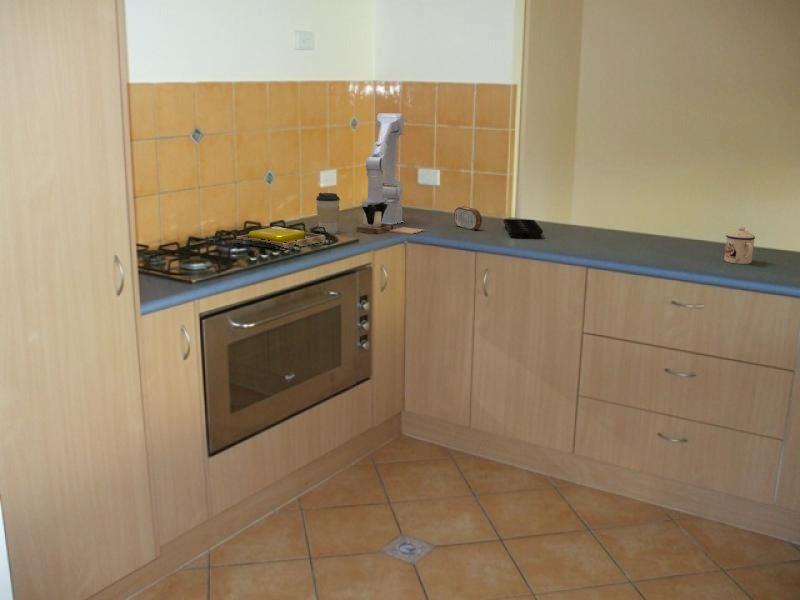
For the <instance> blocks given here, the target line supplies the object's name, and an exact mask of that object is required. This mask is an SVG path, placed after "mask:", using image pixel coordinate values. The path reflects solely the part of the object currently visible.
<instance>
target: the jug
mask: <svg viewBox="0 0 800 600" xmlns="http://www.w3.org/2000/svg"><path fill="white" fill-rule="evenodd" d="M362 216H363V218H362V221H363V222H362V225H367V226H368V227H367V228H374V229H377V228H381V211H375V215H374V223H373V225H371V224H368V222H367V218H366V214H365V212H364V213H363V214H362Z"/></svg>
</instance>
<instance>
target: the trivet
mask: <svg viewBox="0 0 800 600" xmlns="http://www.w3.org/2000/svg"><path fill="white" fill-rule="evenodd" d="M421 231H424V232H426V230H425V229H421V228H420V229H419V228H412V227H405V226H402V227H398V228H393V230H389V231H388V233H395V234H403V235H412V236H413V235H415V234H414V233H416V234H418V233H417V232H420V233H422V232H421Z"/></svg>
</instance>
